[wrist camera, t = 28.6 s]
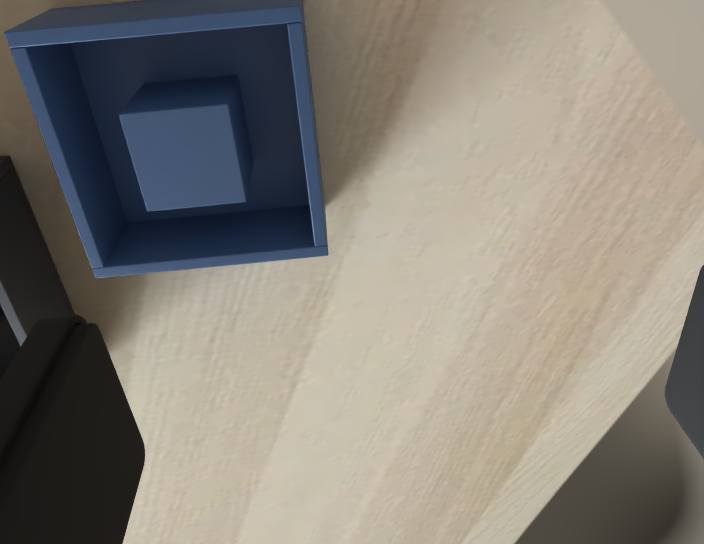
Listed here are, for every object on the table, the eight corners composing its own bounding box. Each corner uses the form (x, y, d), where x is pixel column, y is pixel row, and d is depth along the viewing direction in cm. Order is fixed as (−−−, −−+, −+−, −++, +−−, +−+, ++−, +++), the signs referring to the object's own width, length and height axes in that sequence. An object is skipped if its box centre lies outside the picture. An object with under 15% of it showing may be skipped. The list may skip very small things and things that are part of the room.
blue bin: (50, 8, 26) (2, 32, 22) (300, -14, 27) (300, 5, 23) (121, 228, 33) (95, 278, 28) (325, 208, 33) (328, 256, 29)
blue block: (142, 83, 28) (117, 114, 24) (238, 74, 28) (228, 103, 24) (166, 171, 31) (146, 212, 27) (253, 163, 31) (246, 202, 27)
